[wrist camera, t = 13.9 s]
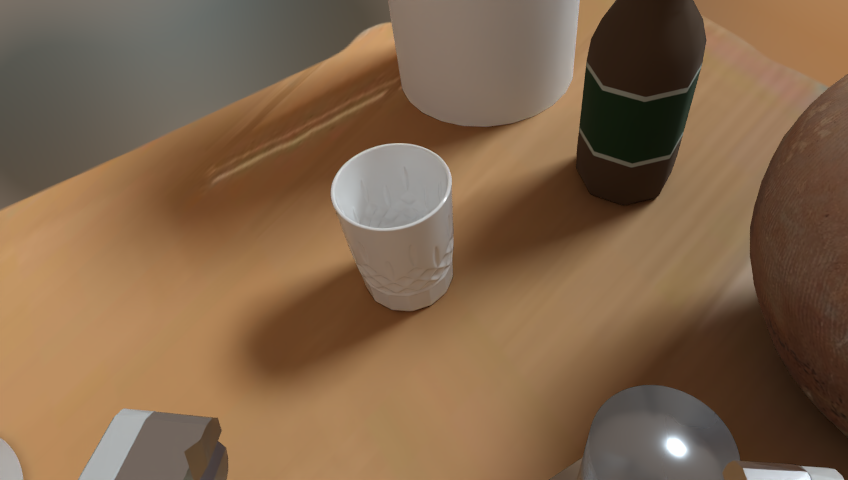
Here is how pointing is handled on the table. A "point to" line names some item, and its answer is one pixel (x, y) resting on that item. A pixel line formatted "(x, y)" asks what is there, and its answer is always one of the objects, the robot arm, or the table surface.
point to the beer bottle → (638, 96)
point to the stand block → (569, 472)
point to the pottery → (808, 252)
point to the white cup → (398, 222)
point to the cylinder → (484, 57)
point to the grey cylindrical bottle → (656, 438)
